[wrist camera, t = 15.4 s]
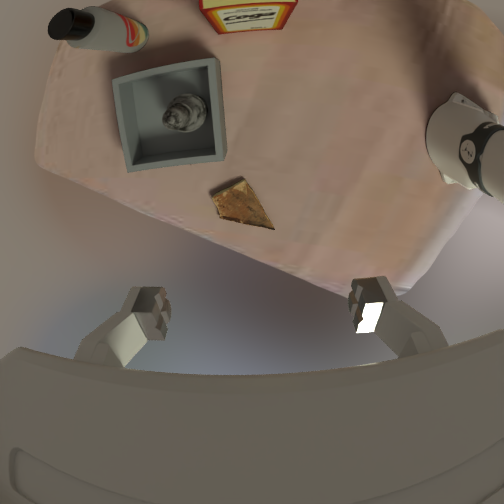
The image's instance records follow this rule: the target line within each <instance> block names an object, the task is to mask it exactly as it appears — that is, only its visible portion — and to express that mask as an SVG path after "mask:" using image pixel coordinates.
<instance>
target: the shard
mask: <svg viewBox="0 0 504 504" xmlns="http://www.w3.org/2000/svg"><path fill="white" fill-rule="evenodd" d="M212 200H213V202H214V203H215V205H216V206H217V208H218V210H219V214H220V217H219V218H221V219H226V220H229V221H235V222H238V223H243V224H247V225H252V226H258V227H265V228H268V229H272V230H275V229H274V227H273V224H272V223H271V222H270V220H269V219H268V217H267V216H266V214H265V212H264V209H263V207H262V206H261V204H260V202H259V200H258V199H257V197H256V195H255V194H254V192H253V190H252V189H251V188H250V187H249V185H248V184H247V182H246V180H245V179H243V180H241V181H240V182H238V183H236V184H234V185H232V186H231V187H229V188H227V189H224V190H222V191H220V192H217V193H216V194H215V195H214V196H213V197H212Z"/></svg>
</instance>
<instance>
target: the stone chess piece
mask: <svg viewBox="0 0 504 504" xmlns="http://www.w3.org/2000/svg"><path fill="white" fill-rule="evenodd" d="M207 114H208V105H207V103H206V101H205V100H204V99H203V98H202V97H201V96H198V95H195V94H189V93H185V94H180V95H178V96H176V97H175V98H173V99H172V100H171V102H170V103H169V105H168V107H167V110H166V111H165V113H164V114H163V116H162V122H163V125H164V126H165V127H166V128H167V129H169V130H177V131H180V132H191V131H194V130H196V129H197V128H199V127H200V126H201V125H202V124H203V122H204V120H205V119H206V117H207Z"/></svg>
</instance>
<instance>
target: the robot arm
mask: <svg viewBox="0 0 504 504" xmlns="http://www.w3.org/2000/svg"><path fill="white" fill-rule="evenodd" d="M461 100H462V102H461ZM426 143H427V149H428V153H429V156H430V158H431V160H432V161H433V163H434V164H435V165H436V166H437V168H438V169H439V170H440V173H441V177H442V179H443V181H444V182H445V183H447V184H451V183H459V184H460V185H462V186H464V187H465V188H467V189H470V190H471V188H478V189H479V190H481V191H482V192H483V193H486V194H488V195H489V196H492V197H495V198H496V199H498V200H499V201H500V202H501V203H503V204H504V126H502V125H500V124H499V121H498V116H497V115H495V114H493V113H491V112H488V111H486V110H484V109H482V108H481V107H479V106H478V105H477V104H475V103H474V102H472V101H471V100H469V99H468V98H466V97H465V96H463V95H461V94H460V93H457V92H455V93H453V94H452V96H451V97H450V99H449V100H448V101H447V102H446V103H445V104H443V105H441V106H440V107H438V108H437V109H436V110H435V112H434V113H433V114H432V116H431V118H430V120H429V123H428V127H427V133H426ZM351 287H352V291H351V292H350V293H349V297H348V307H349V312H350V314H351V315H352V316H353V317H354V319H353V324H354V327H355V330H356V333H363V332H373V331H374V333H375V334H376V335H377V336H378V337H379V338H380V339H381V340H382V341H383V342H384V343H385V344H386V345H387V346H388V347H389V348H390V349H391V350H392V351H393V352H394V353H395V354H396V355H398V358H397V359H393V360H388V361H383V362H377V363H371V364H365V365H359V366H352V367H346V368H338V369H330V370H321V371H311V372H299V373H287V374H266V375H198V374H178V373H165V372H153V371H143V370H135V369H127V368H125V365H126V364H127V363H128V362H129V361H130V360H131V359H132V358H133V357H134V355H135V354H136V353H137V352H138V351H139V350H140V349H141V348H142V347H143V346H144V344H145V343H146V342H147V340H165V337H166V333H167V330H168V328H167V326H166V324H167V323H168V322H169V321H170V318H171V305H170V302H169V300H167V299H166V298H165V297H166V294H167V293H166V291H165V288H163V287H132V288H131V289H130V291H129V293H128V295H127V298H126V300H125V302H124V304H123V307H122V309H121V311H120V312H117V313H115V314H114V315H113V316H112V317H110V318H109V319H108V320H106V321H105V322H104V323H103V324H101V325H100V326H99V327H97V328H96V329H95V330H94V331H92V332H91V333H90V334H89V335H87V336H86V337H85V338H84V339H82V341H81V343H80V345H79V348H78V350H77V352H76V354H75V357H74V359H73V360H72V359H68V358H63V357H58V356H55V355H50V354H46V353H42V352H38V351H34V350H31V349H28V348H24V347H18V348H16V349H14V350H13V351H11V352H10V353H8V354H7V355H6V356H4V357H3V358H2V359H1V360H0V504H504V329H499V330H496V331H493V332H491V333H488V334H485V335H482V336H480V337H477V338H474V339H471V340H468V341H464V342H461V343H458V344H454V345H451V346H448V343H447V341H446V339H445V337H444V335H443V333H442V331H441V329H440V327H439V326H438V325H436V324H435V323H434V322H432V321H430V320H429V319H428V318H426V317H425V316H423V315H422V314H421V313H419V312H417V311H416V310H415V309H413V308H412V307H410V306H409V305H407V304H406V303H404V302H403V301H399V300H398V298H397V297H396V294H395V293H394V291H393V289H392V287H391V285H390V283H389V281H388V279H387V278H386V277H385V276H378V277H370V278H358V279H353V281H352V284H351Z"/></svg>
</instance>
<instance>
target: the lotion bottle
mask: <svg viewBox="0 0 504 504" xmlns="http://www.w3.org/2000/svg"><path fill="white" fill-rule="evenodd" d="M48 34H49V36H50V37H51V38H52V39H55V40H67V43H68V44H69V45H70V46H71V47H74V48H79V49H93V50H104V51H114V52H122V53H133V52H136V51H138V50H140V49H141V48H142V47H143V46H144V45H145V44H146V42H147V40H148V37H149V32H148V29H147V27H146V26H145V25H143V24H142V23H140V22H137V21H135V20H133V19H130V18H128V17H125V16H122V15H120V14H117V13H114V12H112V11H109V10H106V9H103V8H100V7H95V6H91V7H86V8H84V9H82V10H78V9H73V8H66V9H63V10H61V11H60V12H58V13H57V14H56V15H55V16H54V17H53V18H52V19H51V21H50V23H49V25H48Z"/></svg>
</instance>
